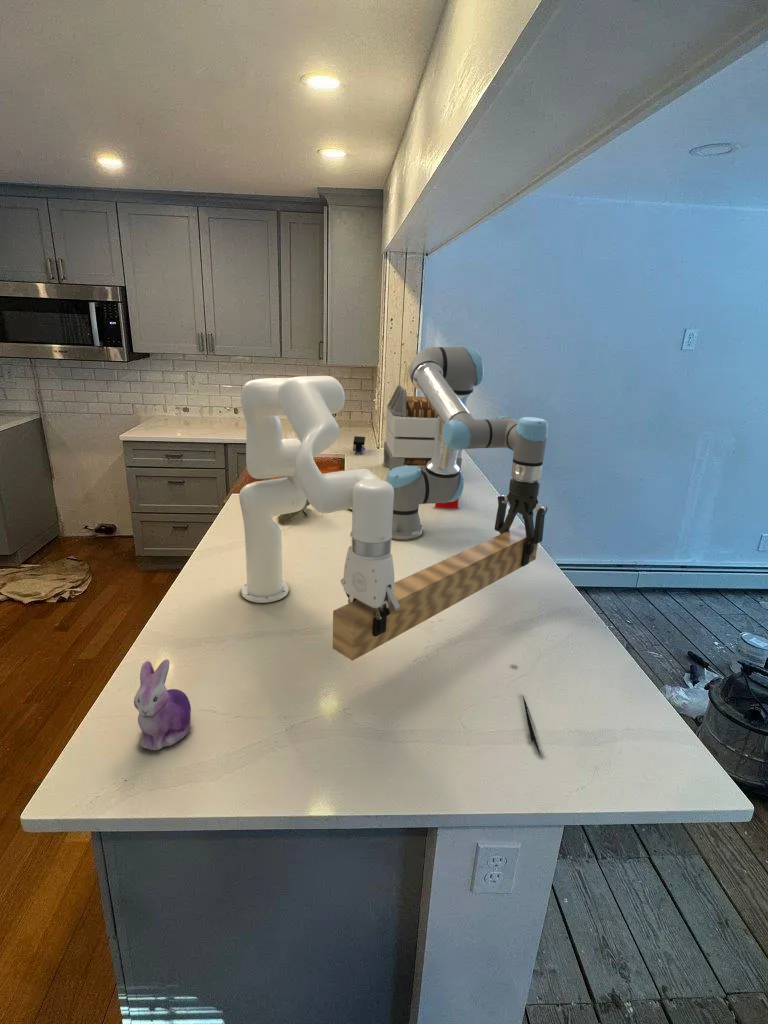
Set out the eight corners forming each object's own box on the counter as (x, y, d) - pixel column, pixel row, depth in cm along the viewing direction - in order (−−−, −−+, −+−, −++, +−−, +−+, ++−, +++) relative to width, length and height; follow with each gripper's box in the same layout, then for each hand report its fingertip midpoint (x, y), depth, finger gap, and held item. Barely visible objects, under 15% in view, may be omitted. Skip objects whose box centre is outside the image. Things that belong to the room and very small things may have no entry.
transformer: (382, 463, 289) (386, 382, 275) (445, 464, 293) (451, 384, 279) (390, 482, 257) (394, 392, 243) (460, 483, 261) (468, 394, 247)
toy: (452, 466, 252) (464, 476, 223) (451, 496, 255) (462, 509, 226) (425, 465, 252) (433, 475, 222) (424, 495, 254) (431, 508, 225)
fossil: (282, 494, 222) (311, 473, 217) (298, 512, 225) (327, 492, 220) (267, 519, 202) (298, 497, 198) (285, 538, 205) (316, 517, 200)
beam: (517, 552, 160) (521, 524, 157) (535, 559, 156) (539, 530, 153) (332, 648, 112) (332, 610, 109) (352, 661, 108) (353, 622, 105)
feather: (514, 670, 128) (520, 664, 128) (540, 759, 101) (547, 752, 101) (508, 666, 128) (514, 660, 127) (532, 755, 101) (539, 747, 101)
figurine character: (364, 457, 303) (365, 448, 317) (365, 444, 300) (365, 435, 313) (352, 457, 303) (353, 447, 316) (352, 444, 300) (353, 434, 313)
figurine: (141, 761, 97) (132, 687, 92) (135, 723, 105) (126, 654, 100) (198, 744, 101) (192, 673, 96) (188, 709, 110) (182, 642, 104)
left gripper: (326, 535, 110) (325, 616, 117) (390, 565, 99) (385, 652, 106) (354, 526, 115) (351, 604, 122) (418, 553, 105) (412, 637, 111)
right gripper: (486, 473, 149) (477, 553, 157) (551, 490, 137) (538, 576, 145) (502, 468, 154) (492, 546, 162) (566, 484, 142) (552, 568, 150)
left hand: (367, 626), depth 114 cm, fingers closed on beam, 5 cm apart
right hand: (514, 560), depth 153 cm, fingers closed on beam, 6 cm apart
